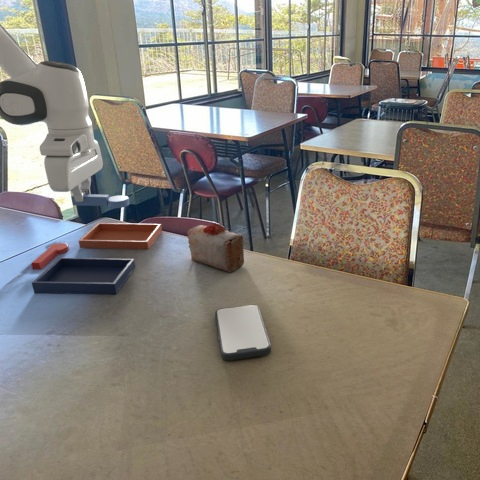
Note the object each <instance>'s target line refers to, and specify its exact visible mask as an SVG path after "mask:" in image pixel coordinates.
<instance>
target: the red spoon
mask: <svg viewBox="0 0 480 480" xmlns="http://www.w3.org/2000/svg"><path fill="white" fill-rule="evenodd" d="M69 250H70V248H69V244H67V243H65V242H58V243H53V244H51V245H49V246H48V249H46V250H45V251H44V252H43V253H42V254H40V255H39V256H38V257H36V258H35V259H34V260H33V261H32V262H31V267H32V270H33V271H40V270H43V269H44V268H45V267H46V266H47V265H48V264H49V263H51V262H52V261H53V260H54V259H55V258H56V257H57V256H58V255H63V254H66V253H68V252H69Z"/></svg>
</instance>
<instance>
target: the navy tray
mask: <svg viewBox="0 0 480 480" xmlns="http://www.w3.org/2000/svg"><path fill="white" fill-rule="evenodd" d="M134 269H136V263H135V258H106V257H105V258H103V257H59V258H57V259H56V260H55V261H54V262H53V263H52V264H51V265H50V266H49V267H48V268H46V269H45V270H44V271H43V272H42V273H41V274H40V275H38V276H37V277H36V278H35V279H34V280H33V281H32V282H31V286H32V290H33V293H34V294H67V295H68V294H71V295H72V294H73V295H75V294H77V295H117V294H118V293H119V292H120V290H121V289H122V287H123V286H124V284H125V283H126V282H127V281H128V279H129V278H130V276H131V273H132V272H133V271H134Z"/></svg>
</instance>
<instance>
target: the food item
mask: <svg viewBox="0 0 480 480" xmlns="http://www.w3.org/2000/svg"><path fill="white" fill-rule="evenodd" d="M187 239H188V240H187V241H188V248H189V252H190V258H191V259H190V260H191V261H192V262H197V263H201V264H203V265H208V266H210V267H214V268H215V269H219V270H222V271H224V272H228V273H233V272H234V271H236V270H237V269H239V268H242V267H243V266H244V264H245V255H244V254H245V251H244V236H243V234H238V233H235V232H232V231H229V230H227V229H225V228H224V226H223V222H222V221H221V222H220V223H219V224H217V223H215V222H214V223H212V224H209V225H203V224H200V225H196V226H193V227H192V228H190V229H189V230H187Z"/></svg>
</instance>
